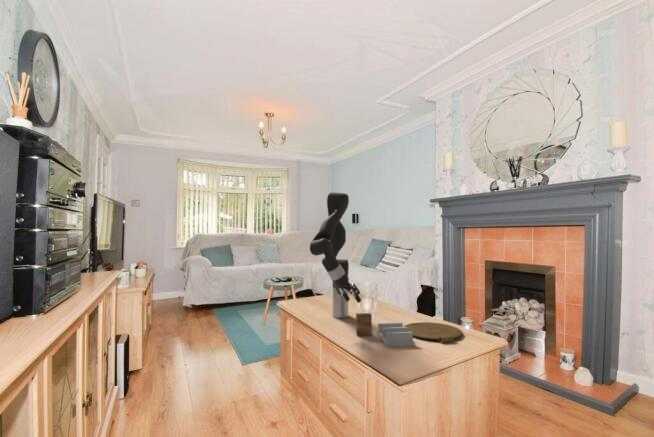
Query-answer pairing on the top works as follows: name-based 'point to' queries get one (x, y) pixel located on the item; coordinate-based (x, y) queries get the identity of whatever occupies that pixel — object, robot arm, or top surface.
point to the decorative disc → (434, 331)
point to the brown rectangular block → (363, 324)
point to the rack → (395, 334)
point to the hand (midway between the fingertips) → (353, 301)
